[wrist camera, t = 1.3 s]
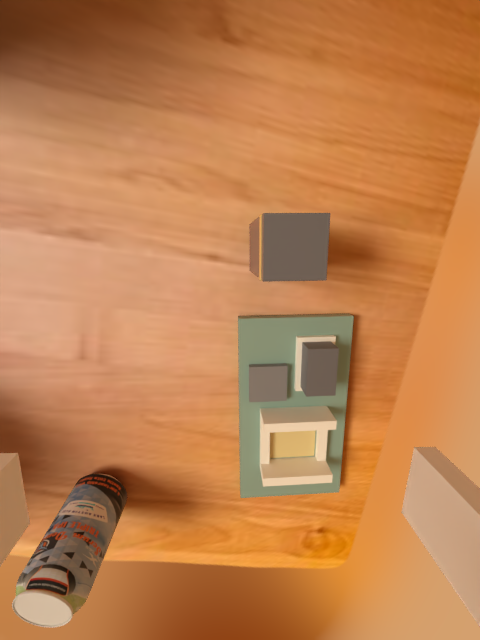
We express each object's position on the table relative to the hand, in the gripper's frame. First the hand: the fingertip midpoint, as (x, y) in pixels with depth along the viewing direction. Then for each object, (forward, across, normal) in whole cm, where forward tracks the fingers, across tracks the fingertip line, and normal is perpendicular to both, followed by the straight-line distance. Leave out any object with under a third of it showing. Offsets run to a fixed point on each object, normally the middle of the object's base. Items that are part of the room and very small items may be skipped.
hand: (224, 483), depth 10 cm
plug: (+22, +5, +8) cm, 24 cm away
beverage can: (+22, -14, -21) cm, 34 cm away
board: (+22, +8, -10) cm, 26 cm away
